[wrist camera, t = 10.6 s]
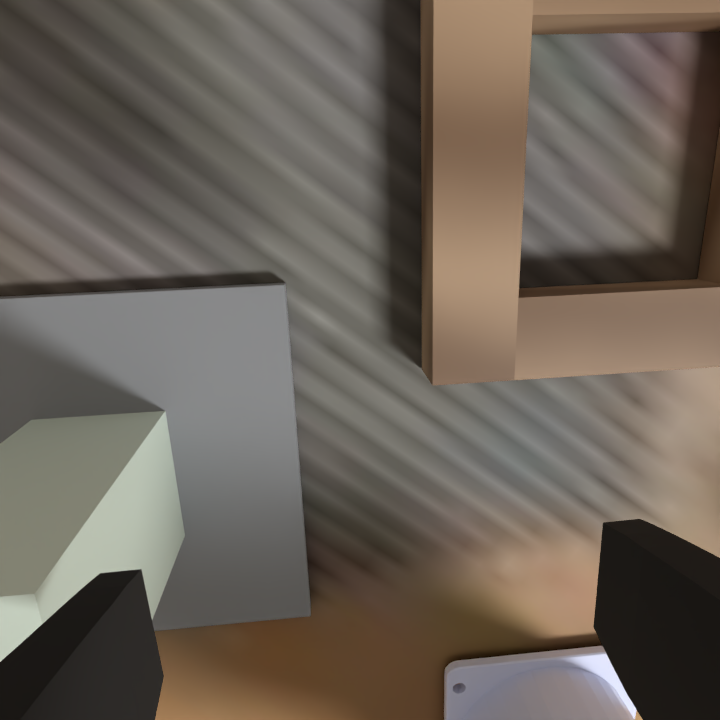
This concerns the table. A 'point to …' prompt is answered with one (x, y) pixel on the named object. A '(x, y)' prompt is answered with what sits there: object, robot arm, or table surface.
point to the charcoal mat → (184, 425)
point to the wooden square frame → (505, 210)
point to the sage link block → (83, 512)
